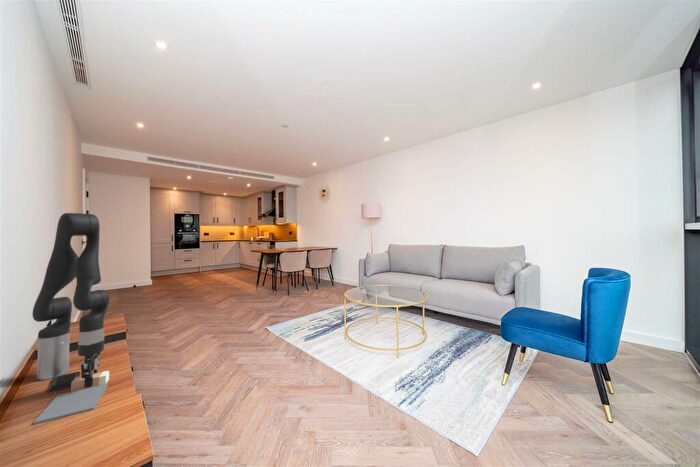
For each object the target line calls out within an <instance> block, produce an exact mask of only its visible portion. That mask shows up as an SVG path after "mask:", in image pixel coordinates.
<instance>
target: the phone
mask: <svg viewBox="0 0 700 467" xmlns="http://www.w3.org/2000/svg"><path fill="white" fill-rule="evenodd" d="M79 376H81V372H80V371H75V372H71V373H65V374H63V375H61V376H57V377H54V378H52V380H51V383H50V385H49V387H48V390H47V393H48V394H52V393H55V392H59V391H64V390H68V389H71V382H72V381H73V380H74V379H75V378H76V377H79Z"/></svg>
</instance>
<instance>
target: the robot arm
mask: <svg viewBox="0 0 700 467" xmlns="http://www.w3.org/2000/svg"><path fill="white" fill-rule="evenodd" d="M100 228H101V227H100V220H99V218H98V216H96V215H95V214H92V213H82V212H81V213H78V212H73V213H72V212H66V213H62V214H61V216H60V217H59V219H58V222H57V227H56V232H55V239H54V245H53V248H52V251H51V256H50V259H49V261H48V263H47V268H46V270H45V274H44V280H43V282H42V286H41V288H40V291H39V293H38V296H37V298H36V300H35V302H34V306H33V308H32V318H33V320H34V321H36V322H39V323H40V322H41V323H42V322H49V321H54V320H55V322H53V323H52V324H50V325H48V326H46V327H44V328H41V329H40V330H39V331H38V334H37V369H36V372H37V373H36V378H37V380H39V381H41V380H42V381H43V380H49V379H53V378H55V377H57V376H61V375H66V374H68V372H69V371H70V333H71V331H70V330H71V323H72V322H71V321H72V320H71V319H72V310H73V307H74V308H75V309H76V310H78V311H88V310H90V312H89V313H87V314H85V315H83V316H81V317H80V319H79V321H78V322H79V325H78V326H79V329H78V330H79V331H78V336H77V337H78V338H77V339H78V340H77V341H78V342H77V355H78V356H79V357H84V359H83V360H82V363H81V365H80V371H81V372H80V373H81V376H82V379H83V378H85V383H84V387H85V388H86V387H91V386H92V385H93V374H95V373H98V370H99V368H100V362H101V361H100V360H101V352H103V351H104V350H105V330H104V324H105V321H104V319H105V318H104V317H105V315H106V312H107V310H108V307H109V303H110V295H109V292H108V291H106V290H104V289H97V290H91V289H92V287H93V286H95V285H98V284H99V283H101V281H102V277H101V270H100V269H101V268H100V265H99V264H100V262H99V252H100ZM75 236H76V237H78V236H79V237H81V236H84V237H86V243H85V247H84V249H83V251H82V252H81V254H80V255H79V256H78V254H77V253H76V251H75V250H74V248H73V247H72V244H71V242H72V238H73V237H75ZM75 279H76V285H75V290H74V295H73V300H71V298H70V297H68V296H61V297H60V296H59V297H55V296H56V295H57V294H58V293H60V292H61V291H62V289H64V288H65V287H67V286H68V285H69V284H71V283H72V282H73V280H75ZM72 304H73V305H72ZM87 373H88V374H87Z"/></svg>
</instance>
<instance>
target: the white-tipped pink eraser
mask: <svg viewBox="0 0 700 467" xmlns="http://www.w3.org/2000/svg"><path fill="white" fill-rule="evenodd" d="M109 380H110V370H104V371H100V372H97V373H95V374H93V385H92V386H91V387H96V386H100V385H105V384H108V382H109ZM84 383H85V378H83V379H82V375H79V377H76V378H75V379H74V380H73V381H72V382H71V388H70V392H73V391H77V390H82V389H87V388H91V387H86V388H85V387H84Z"/></svg>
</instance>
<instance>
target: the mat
mask: <svg viewBox="0 0 700 467" xmlns="http://www.w3.org/2000/svg"><path fill="white" fill-rule="evenodd" d="M108 386H109V384H108V383H106V384H105V385H100V386H96V387H91V388H87V389H82V390H77V391H73V392H71V391H68V392H64V393H61V394H57V396H55V397H54V399H53V400H52V401H51V402H50V403H49V404H48V406H47V407H46V408H45V409H44V410H43V411H42V412H41V414H40V415H38V417H37V418H35V420H34V421H33V422H32V426H33V425H37V424H41V423H44V422H45V423H46V422H49V421H52V420H53V421H54V420H57V419H60V418H65V417H69V416H73V415H76V414H80V413H84V412H89V411H92V410H95V408H96V406H97V405H98V404H99V401H100V399H101V398H102V396H103V395H104V393H105V391H106V389H107V388H108Z"/></svg>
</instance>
